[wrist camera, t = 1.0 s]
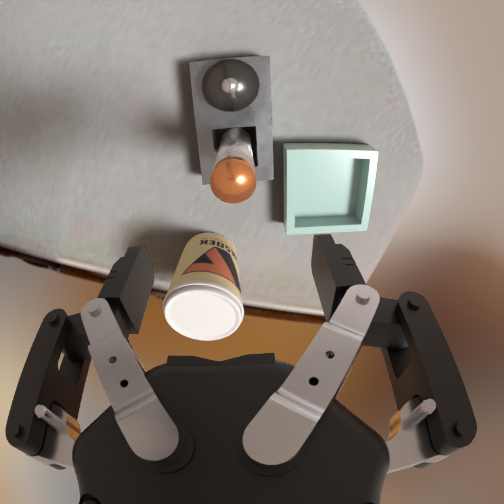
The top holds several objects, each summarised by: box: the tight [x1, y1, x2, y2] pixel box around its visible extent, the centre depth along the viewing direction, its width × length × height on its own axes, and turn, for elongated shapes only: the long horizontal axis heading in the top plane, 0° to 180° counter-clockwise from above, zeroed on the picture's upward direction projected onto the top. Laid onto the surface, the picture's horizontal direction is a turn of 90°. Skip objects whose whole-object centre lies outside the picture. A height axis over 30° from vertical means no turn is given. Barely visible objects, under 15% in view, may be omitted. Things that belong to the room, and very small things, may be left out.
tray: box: [283, 143, 378, 235], centre depth 33 cm, size 11×11×3 cm
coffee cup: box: [163, 232, 244, 340], centre depth 36 cm, size 9×9×12 cm
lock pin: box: [210, 128, 256, 203], centre depth 26 cm, size 3×3×13 cm
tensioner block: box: [189, 56, 274, 185], centre depth 27 cm, size 14×8×5 cm, turn 3°
